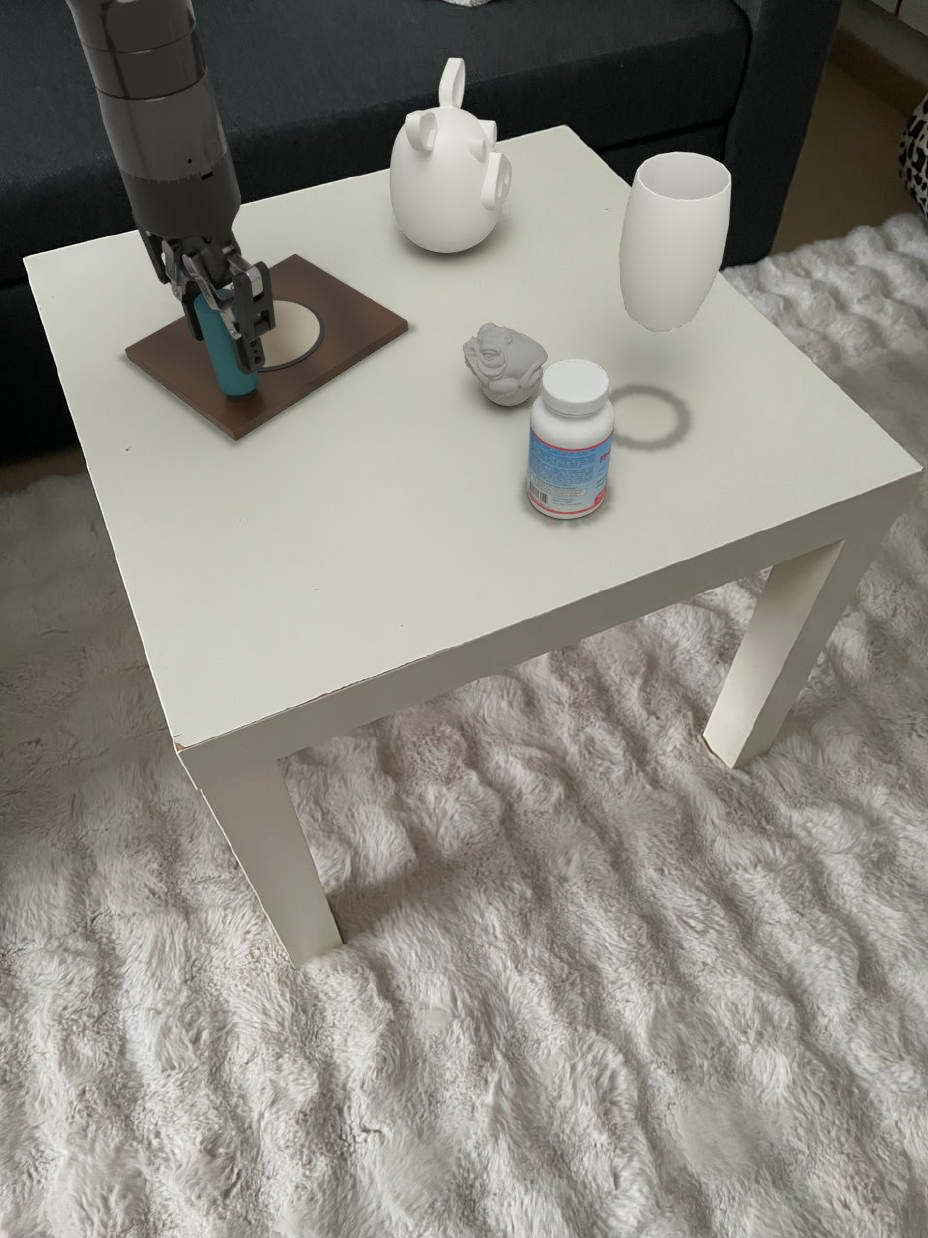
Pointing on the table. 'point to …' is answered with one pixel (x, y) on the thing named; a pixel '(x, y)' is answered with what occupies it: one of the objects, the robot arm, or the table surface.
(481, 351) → the grey sculpted head figurine
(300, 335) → the wooden board with hole
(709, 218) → the cup
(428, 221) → the piggy bank
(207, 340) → the teal cylinder
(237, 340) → the robot arm
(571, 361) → the pill bottle
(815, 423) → the table surface
